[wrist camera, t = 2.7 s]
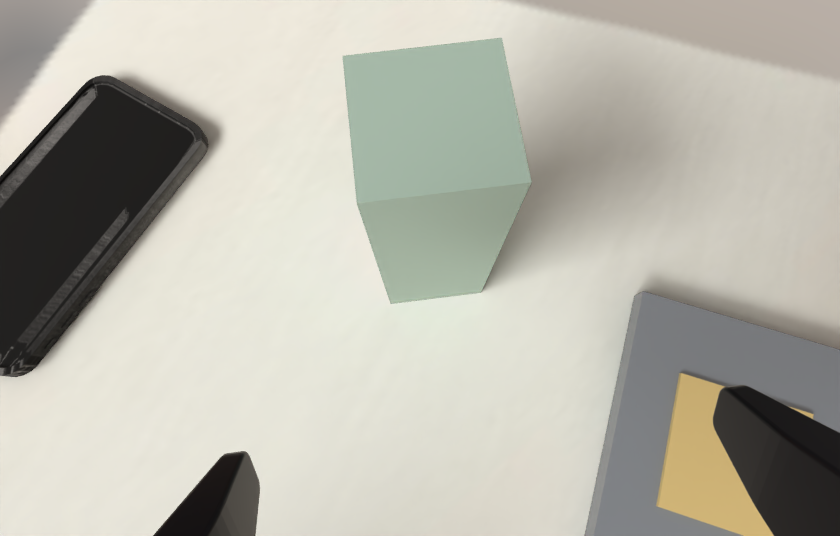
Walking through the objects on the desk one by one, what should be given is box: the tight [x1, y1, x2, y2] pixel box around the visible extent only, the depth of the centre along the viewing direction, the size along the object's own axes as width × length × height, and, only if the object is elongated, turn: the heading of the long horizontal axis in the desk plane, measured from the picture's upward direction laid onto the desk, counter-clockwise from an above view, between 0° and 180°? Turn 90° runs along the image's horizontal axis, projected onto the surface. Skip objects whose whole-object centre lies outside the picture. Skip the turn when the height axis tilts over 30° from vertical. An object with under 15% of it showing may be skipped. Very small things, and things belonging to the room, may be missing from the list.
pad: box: [585, 291, 840, 536], centre depth 21 cm, size 12×10×1 cm
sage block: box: [343, 38, 532, 304], centre depth 19 cm, size 4×4×12 cm
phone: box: [0, 75, 208, 377], centre depth 25 cm, size 8×1×15 cm
